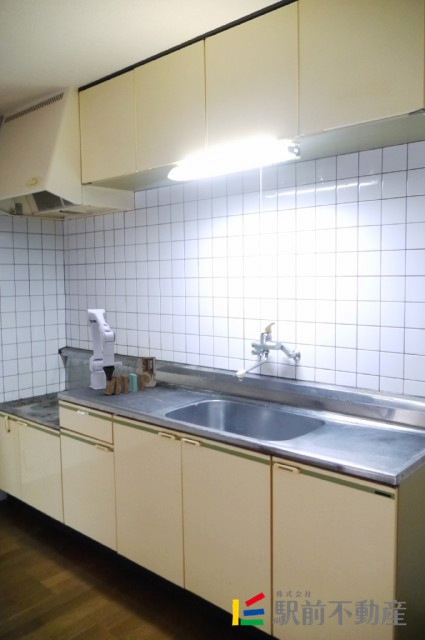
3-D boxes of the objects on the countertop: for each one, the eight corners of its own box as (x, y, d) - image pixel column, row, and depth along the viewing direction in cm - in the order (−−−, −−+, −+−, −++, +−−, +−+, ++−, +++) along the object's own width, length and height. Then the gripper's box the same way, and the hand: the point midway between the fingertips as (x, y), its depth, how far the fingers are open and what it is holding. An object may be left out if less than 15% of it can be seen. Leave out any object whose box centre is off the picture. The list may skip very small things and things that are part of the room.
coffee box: (156, 384, 293) (156, 356, 291) (154, 386, 286) (153, 358, 285) (140, 384, 293) (140, 356, 292) (138, 386, 287) (137, 358, 286)
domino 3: (125, 393, 270) (124, 376, 269) (121, 391, 274) (120, 375, 273) (128, 392, 271) (128, 376, 270) (124, 391, 275) (124, 374, 274)
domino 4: (133, 392, 273) (133, 375, 272) (129, 390, 277) (129, 374, 276) (137, 391, 274) (136, 375, 273) (133, 390, 278) (132, 373, 277)
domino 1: (107, 394, 264) (113, 377, 265) (103, 392, 268) (109, 376, 269) (110, 395, 265) (116, 378, 266) (107, 393, 269) (112, 377, 271)
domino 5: (142, 391, 275) (141, 374, 275) (137, 389, 279) (137, 373, 279) (145, 390, 276) (145, 374, 276) (141, 389, 281) (141, 372, 280)
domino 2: (116, 394, 267) (116, 377, 266) (112, 392, 271) (112, 375, 271) (119, 394, 268) (120, 377, 268) (115, 392, 272) (116, 375, 272)
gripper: (98, 356, 258) (98, 383, 259) (124, 354, 266) (124, 380, 268) (93, 355, 264) (93, 380, 265) (119, 352, 272) (119, 378, 273)
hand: (108, 380), depth 267 cm, fingers closed
